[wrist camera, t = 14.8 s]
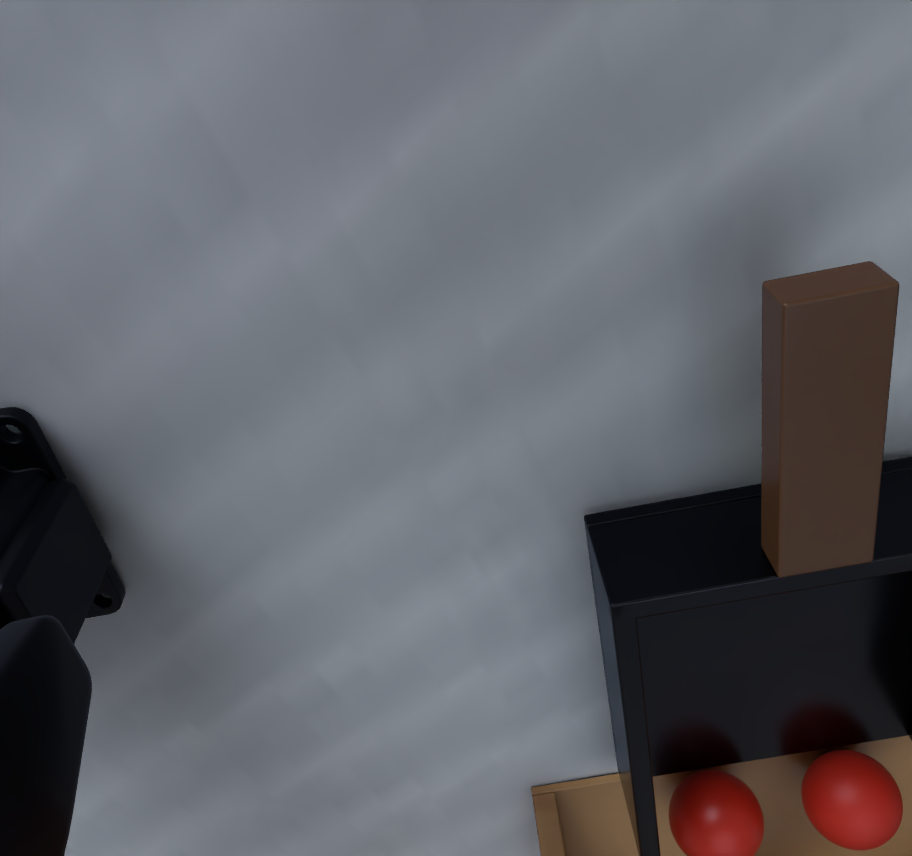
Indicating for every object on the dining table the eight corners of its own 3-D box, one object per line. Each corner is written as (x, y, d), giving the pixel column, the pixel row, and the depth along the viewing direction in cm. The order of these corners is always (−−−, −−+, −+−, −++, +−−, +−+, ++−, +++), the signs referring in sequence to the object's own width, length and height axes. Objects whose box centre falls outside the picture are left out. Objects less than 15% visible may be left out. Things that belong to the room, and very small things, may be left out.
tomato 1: (655, 783, 30) (677, 879, 29) (661, 771, 28) (686, 874, 26) (740, 769, 30) (768, 865, 29) (755, 755, 27) (785, 860, 26)
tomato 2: (780, 760, 30) (807, 855, 29) (801, 754, 27) (832, 859, 26) (867, 746, 30) (898, 841, 29) (896, 738, 27) (932, 843, 26)
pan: (550, 273, 19) (578, 342, 16) (1000, 185, 19) (1115, 241, 16) (617, 769, 29) (643, 873, 26) (918, 720, 28) (980, 820, 25)
